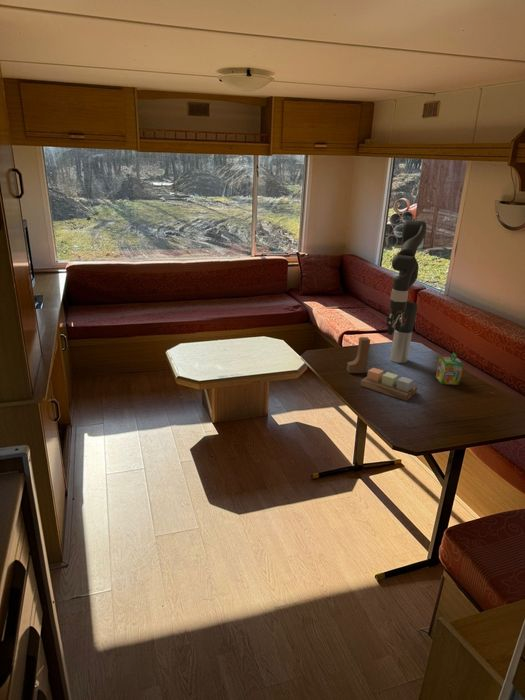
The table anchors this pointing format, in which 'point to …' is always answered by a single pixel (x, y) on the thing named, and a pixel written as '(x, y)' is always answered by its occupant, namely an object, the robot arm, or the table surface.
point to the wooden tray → (388, 389)
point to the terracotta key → (375, 375)
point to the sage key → (389, 379)
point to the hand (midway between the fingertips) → (393, 332)
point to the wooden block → (360, 357)
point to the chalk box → (449, 370)
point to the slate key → (404, 384)
